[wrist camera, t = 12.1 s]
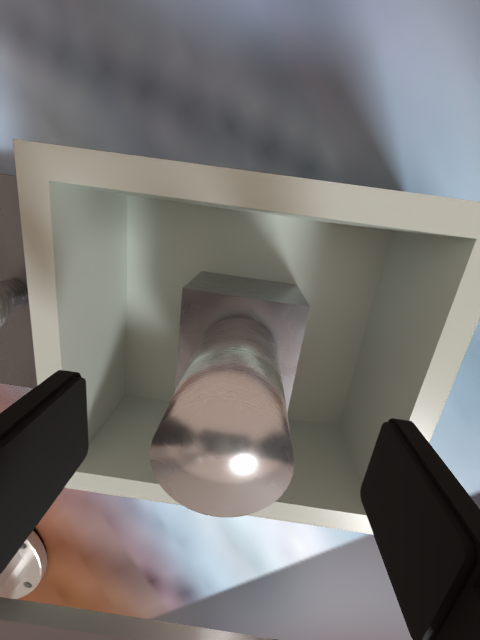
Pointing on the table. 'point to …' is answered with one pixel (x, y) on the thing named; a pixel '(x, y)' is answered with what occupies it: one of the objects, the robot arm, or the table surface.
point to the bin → (252, 262)
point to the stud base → (19, 317)
